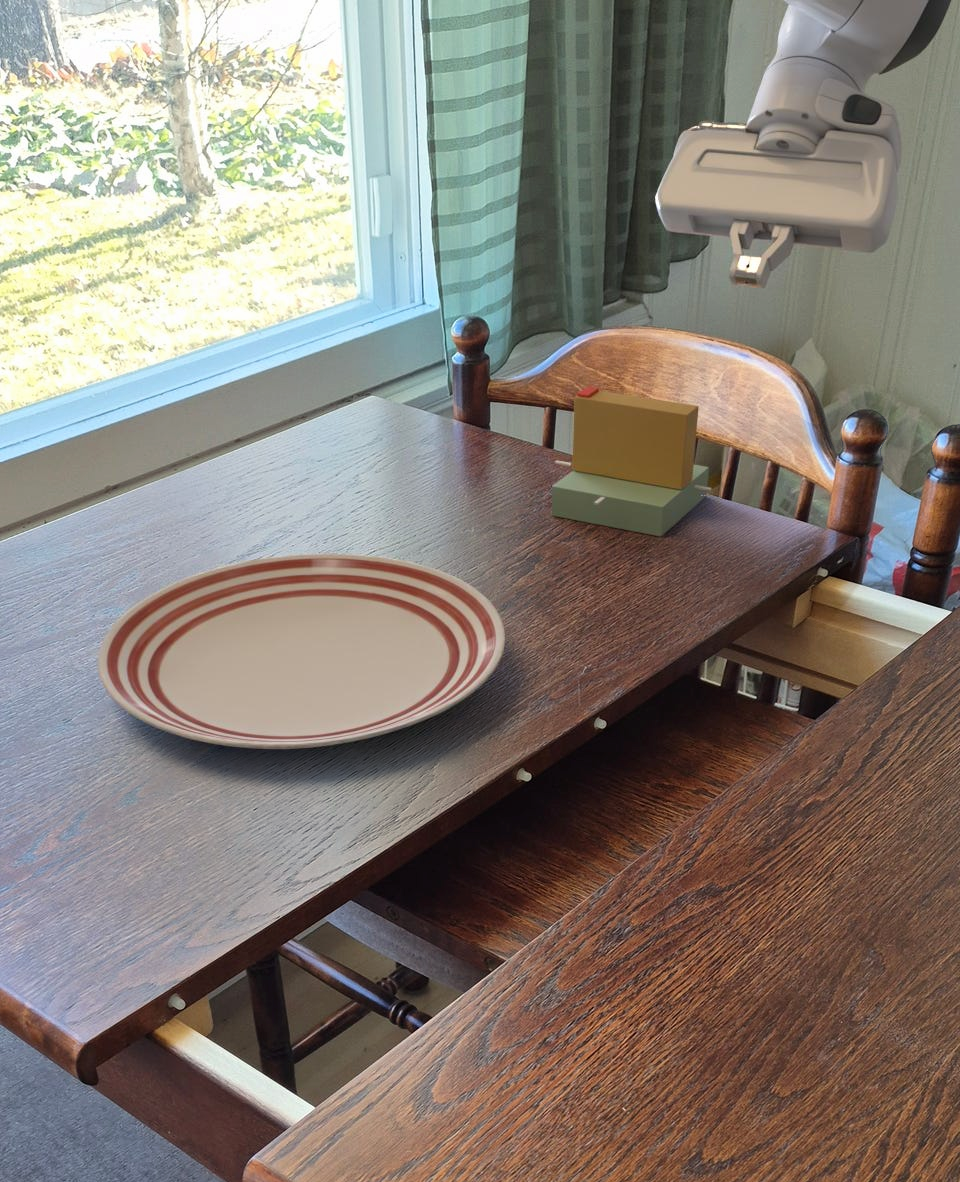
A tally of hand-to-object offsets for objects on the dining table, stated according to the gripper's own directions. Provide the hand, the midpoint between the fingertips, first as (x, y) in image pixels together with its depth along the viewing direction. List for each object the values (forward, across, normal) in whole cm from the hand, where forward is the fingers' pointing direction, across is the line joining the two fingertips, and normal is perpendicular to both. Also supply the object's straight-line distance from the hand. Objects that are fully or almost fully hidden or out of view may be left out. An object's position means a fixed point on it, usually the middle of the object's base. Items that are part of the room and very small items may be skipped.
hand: (746, 282), depth 121 cm
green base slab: (+21, -3, 0) cm, 21 cm away
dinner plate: (+49, -10, -28) cm, 57 cm away
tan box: (+19, -3, -2) cm, 19 cm away
